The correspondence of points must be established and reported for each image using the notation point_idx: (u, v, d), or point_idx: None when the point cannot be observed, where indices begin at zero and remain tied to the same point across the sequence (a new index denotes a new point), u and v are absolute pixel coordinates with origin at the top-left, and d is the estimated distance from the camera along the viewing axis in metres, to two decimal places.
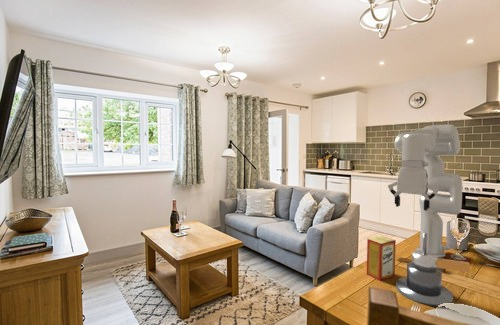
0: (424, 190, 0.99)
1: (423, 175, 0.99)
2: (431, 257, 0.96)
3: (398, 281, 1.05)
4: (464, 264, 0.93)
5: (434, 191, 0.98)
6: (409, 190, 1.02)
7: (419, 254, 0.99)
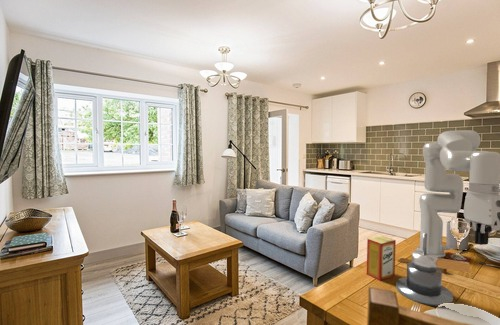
0: (492, 220, 0.82)
1: (491, 202, 0.82)
2: (431, 257, 0.96)
3: (398, 281, 1.05)
4: (464, 264, 0.93)
5: (493, 227, 0.83)
6: (476, 218, 0.87)
7: (419, 254, 0.99)
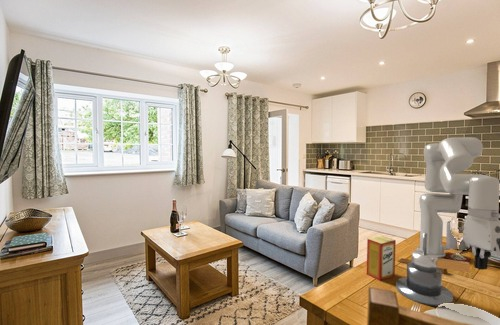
0: (491, 246, 0.82)
1: (490, 228, 0.82)
2: (431, 257, 0.96)
3: (398, 281, 1.05)
4: (464, 264, 0.93)
5: (493, 253, 0.83)
6: (475, 243, 0.87)
7: (419, 254, 0.99)
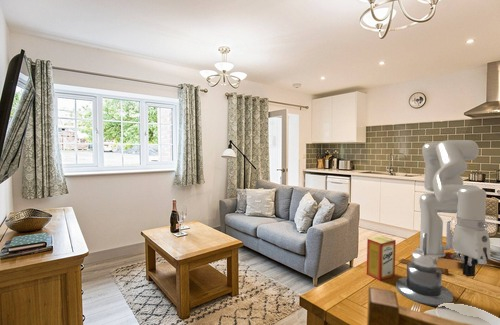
0: (478, 255, 0.86)
1: (477, 237, 0.87)
2: (431, 257, 0.96)
3: (398, 281, 1.05)
4: None
5: (479, 261, 0.87)
6: (463, 251, 0.91)
7: (419, 254, 0.99)
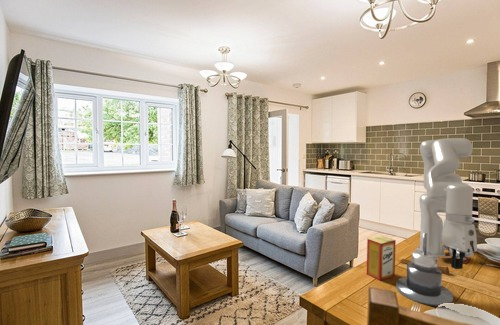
0: (465, 248, 0.91)
1: (464, 231, 0.91)
2: (434, 257, 0.96)
3: (398, 281, 1.05)
4: None
5: (467, 254, 0.92)
6: (452, 245, 0.96)
7: (421, 255, 0.98)
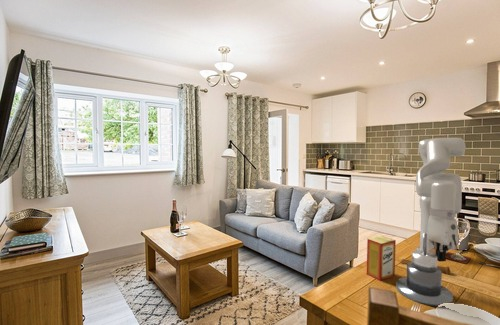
0: (447, 241, 0.97)
1: (446, 226, 0.97)
2: (434, 255, 0.98)
3: (398, 281, 1.05)
4: None
5: (449, 247, 0.98)
6: (436, 239, 1.02)
7: (426, 256, 0.97)
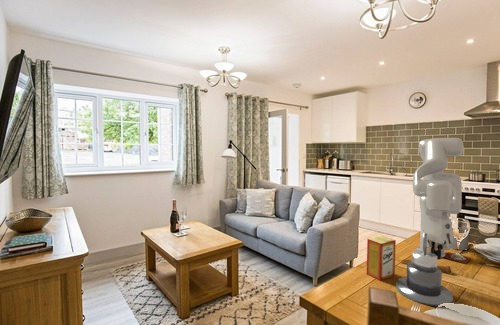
0: (442, 240, 1.00)
1: (441, 225, 1.00)
2: (433, 254, 0.99)
3: (398, 281, 1.05)
4: (429, 249, 1.08)
5: (443, 245, 1.00)
6: (431, 237, 1.04)
7: (427, 256, 0.97)
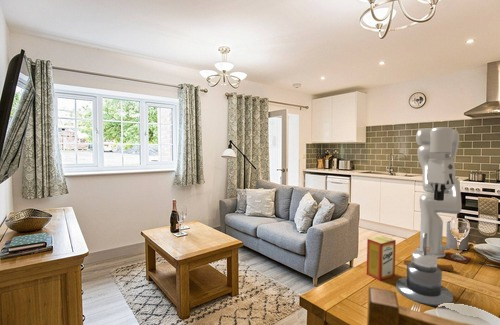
0: (445, 180, 1.05)
1: (444, 166, 1.06)
2: (433, 254, 0.99)
3: (398, 281, 1.05)
4: (429, 249, 1.08)
5: (446, 185, 1.06)
6: (434, 180, 1.10)
7: (427, 256, 0.97)
